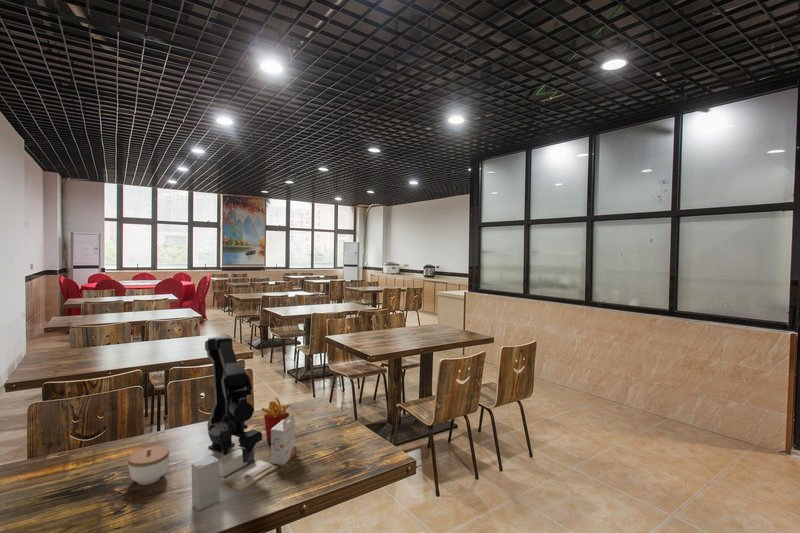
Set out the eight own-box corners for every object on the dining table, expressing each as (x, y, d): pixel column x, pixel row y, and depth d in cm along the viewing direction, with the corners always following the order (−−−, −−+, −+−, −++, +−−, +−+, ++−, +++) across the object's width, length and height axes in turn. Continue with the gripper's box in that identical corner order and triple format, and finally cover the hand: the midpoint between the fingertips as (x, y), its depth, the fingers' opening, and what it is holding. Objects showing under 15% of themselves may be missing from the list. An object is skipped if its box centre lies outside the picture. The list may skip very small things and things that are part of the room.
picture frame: (196, 472, 130) (196, 469, 130) (235, 452, 143) (235, 450, 143) (239, 491, 120) (239, 487, 120) (277, 468, 133) (277, 465, 133)
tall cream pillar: (214, 473, 128) (214, 460, 128) (245, 456, 138) (245, 445, 138) (223, 477, 126) (223, 464, 126) (254, 459, 136) (254, 448, 136)
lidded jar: (126, 492, 119) (125, 461, 119) (130, 474, 128) (130, 445, 128) (168, 483, 124) (168, 453, 123) (169, 467, 133) (169, 438, 133)
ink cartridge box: (282, 451, 144) (282, 410, 144) (295, 453, 143) (295, 411, 143) (270, 464, 136) (270, 420, 136) (283, 465, 135) (284, 421, 135)
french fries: (289, 439, 154) (290, 399, 154) (272, 447, 147) (272, 406, 147) (273, 433, 159) (274, 395, 158) (256, 441, 152) (256, 401, 151)
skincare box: (213, 495, 118) (212, 454, 118) (220, 502, 115) (220, 459, 115) (190, 505, 113) (190, 462, 113) (198, 512, 110) (197, 468, 110)
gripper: (193, 413, 129) (193, 462, 130) (233, 426, 120) (233, 478, 121) (224, 402, 139) (224, 447, 139) (263, 413, 130) (263, 462, 130)
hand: (235, 458), depth 132 cm, fingers open, 9 cm apart
